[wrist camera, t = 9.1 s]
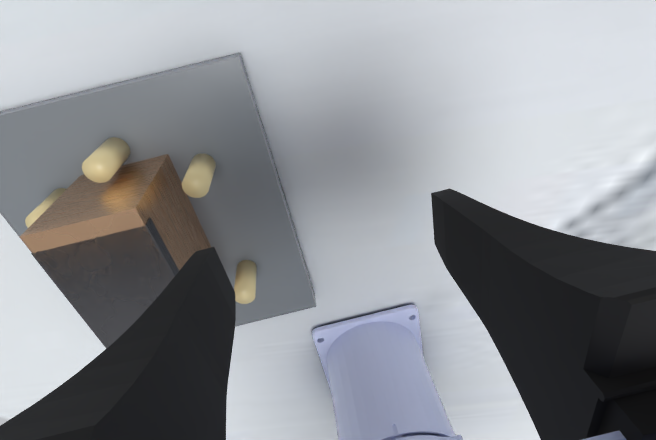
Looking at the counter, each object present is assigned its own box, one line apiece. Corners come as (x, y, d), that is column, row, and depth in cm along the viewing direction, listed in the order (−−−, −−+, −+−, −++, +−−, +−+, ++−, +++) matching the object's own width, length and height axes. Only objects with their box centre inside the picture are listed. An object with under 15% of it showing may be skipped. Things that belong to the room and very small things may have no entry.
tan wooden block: (224, 273, 23) (213, 345, 19) (151, 291, 23) (121, 367, 19) (169, 153, 19) (136, 207, 14) (79, 175, 19) (18, 236, 14)
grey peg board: (314, 294, 27) (320, 335, 24) (119, 342, 27) (99, 389, 24) (240, 52, 18) (234, 66, 15) (-46, 123, 18) (-111, 151, 15)
